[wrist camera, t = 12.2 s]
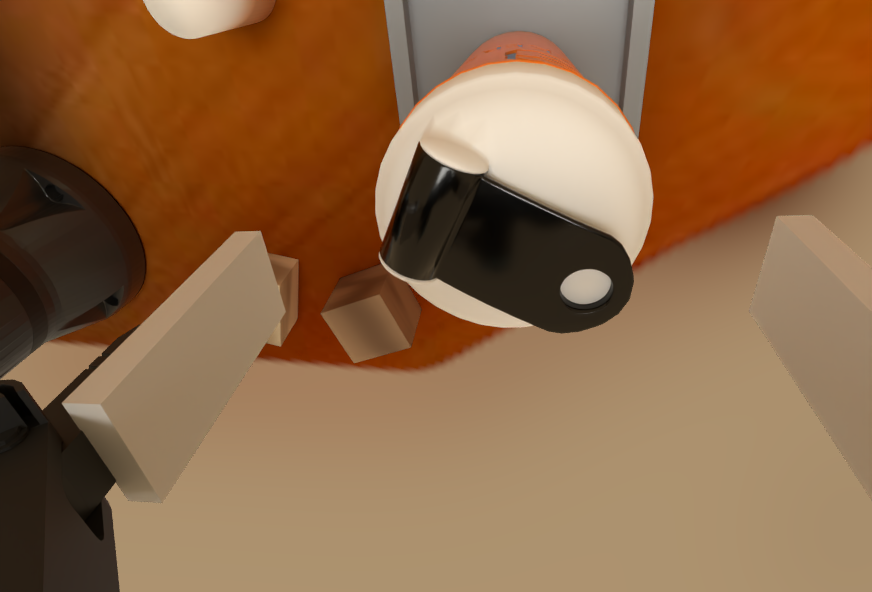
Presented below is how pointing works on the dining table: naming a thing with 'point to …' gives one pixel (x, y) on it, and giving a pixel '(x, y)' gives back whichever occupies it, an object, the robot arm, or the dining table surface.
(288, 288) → the oak block
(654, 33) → the dining table surface
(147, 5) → the ceramic shaker
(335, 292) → the walnut block
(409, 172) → the shaker bottle
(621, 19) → the tray
